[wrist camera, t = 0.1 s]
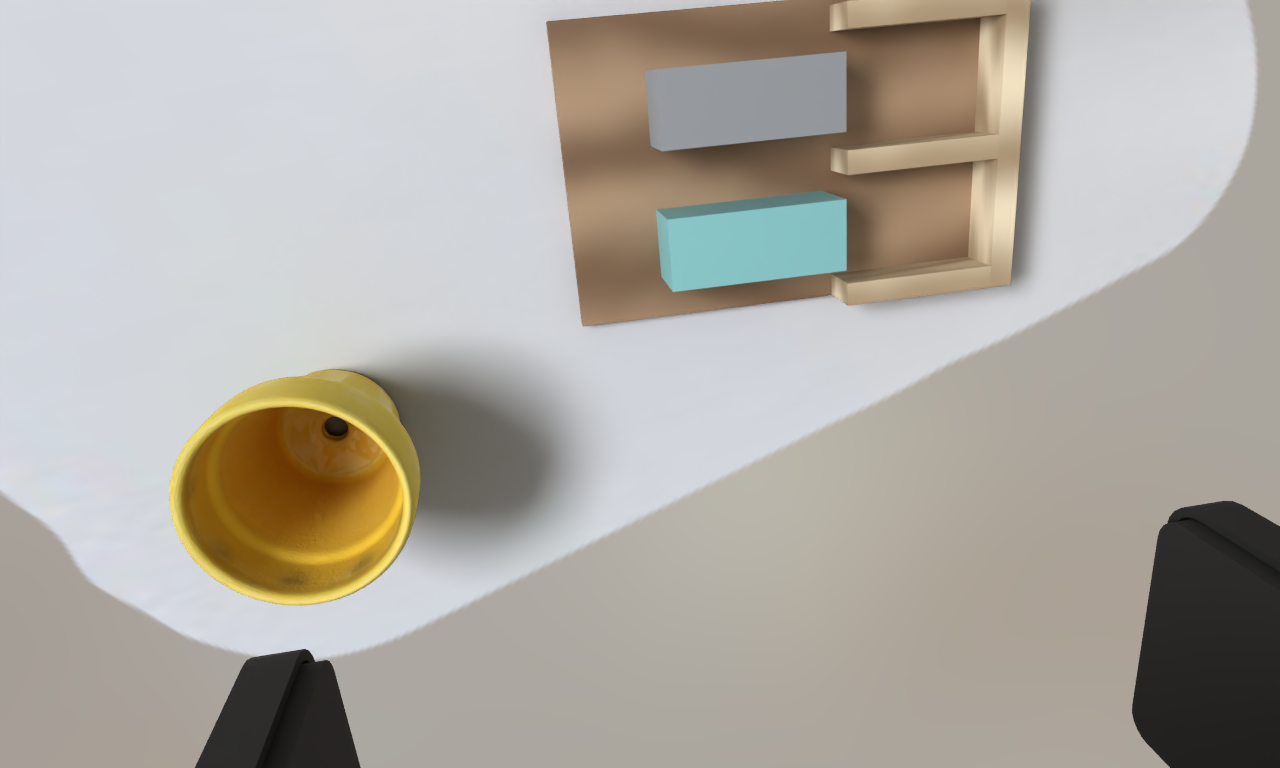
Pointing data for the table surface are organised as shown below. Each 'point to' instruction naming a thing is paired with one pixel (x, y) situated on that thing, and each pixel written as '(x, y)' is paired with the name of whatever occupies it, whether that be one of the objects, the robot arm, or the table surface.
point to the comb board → (801, 146)
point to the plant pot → (298, 489)
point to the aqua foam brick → (752, 240)
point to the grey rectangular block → (746, 101)
